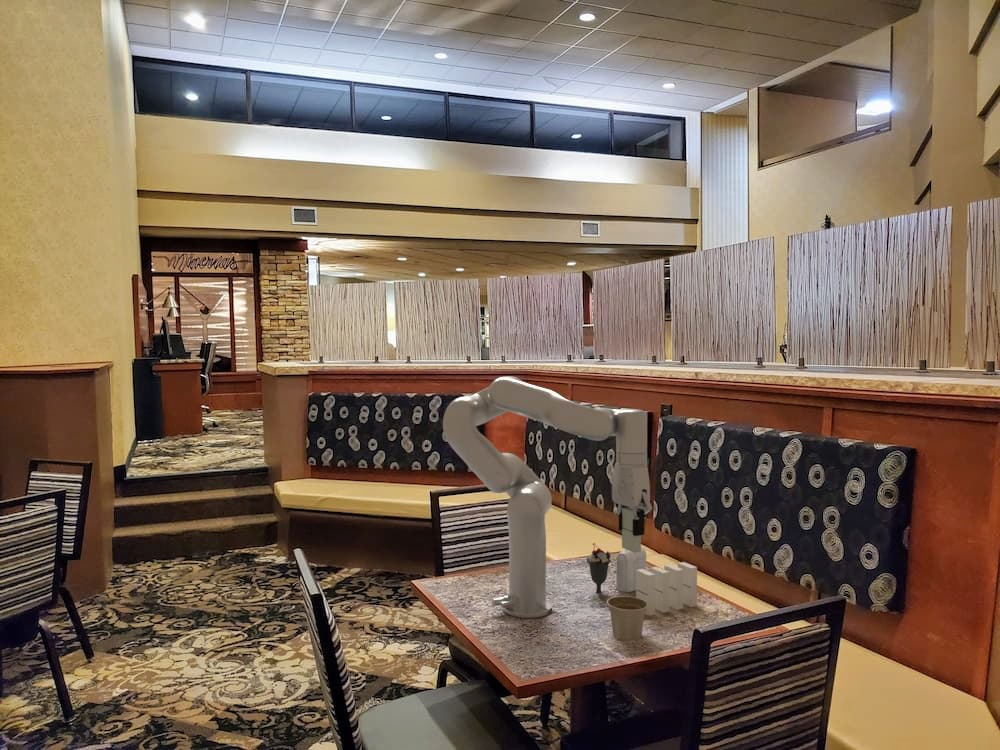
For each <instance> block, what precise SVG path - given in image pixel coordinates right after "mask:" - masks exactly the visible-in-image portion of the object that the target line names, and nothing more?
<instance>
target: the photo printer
mask: <svg viewBox="0 0 1000 750" xmlns="http://www.w3.org/2000/svg"><path fill="white" fill-rule="evenodd" d="M639 569H644V570H646V571H647V551H646V550H645V548H643V547H642V546H641V552H635V553H634V552H632V551H629V550H627V549H624V548H623V550H621V551H619V553H618V554H617V556H616V590H617V591H618V592H622V593H630V592H632V591H636V570H639Z"/></svg>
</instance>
